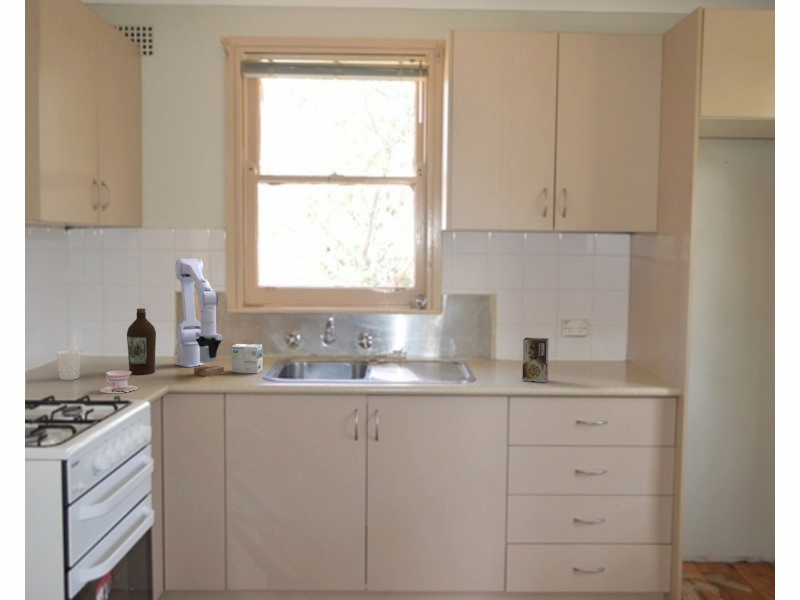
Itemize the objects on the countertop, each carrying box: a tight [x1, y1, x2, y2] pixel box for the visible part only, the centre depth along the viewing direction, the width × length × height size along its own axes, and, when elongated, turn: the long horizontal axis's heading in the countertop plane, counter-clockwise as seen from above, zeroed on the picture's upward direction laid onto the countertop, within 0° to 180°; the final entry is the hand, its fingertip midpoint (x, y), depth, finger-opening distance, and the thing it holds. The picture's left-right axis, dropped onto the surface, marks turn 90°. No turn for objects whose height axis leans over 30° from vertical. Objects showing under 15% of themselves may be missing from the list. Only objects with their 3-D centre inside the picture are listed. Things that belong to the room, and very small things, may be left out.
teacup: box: [99, 370, 138, 394], centre depth 242 cm, size 12×12×6 cm
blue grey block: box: [200, 346, 218, 363], centre depth 271 cm, size 4×4×6 cm
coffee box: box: [521, 337, 549, 384], centre depth 266 cm, size 9×6×16 cm
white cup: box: [56, 349, 81, 381], centre depth 260 cm, size 8×8×10 cm
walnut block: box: [193, 364, 225, 377], centre depth 272 cm, size 8×8×3 cm
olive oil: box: [126, 307, 157, 376], centre depth 272 cm, size 11×11×25 cm
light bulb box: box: [231, 343, 263, 374], centre depth 277 cm, size 11×7×11 cm, turn 84°
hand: (208, 356), depth 272 cm, fingers closed on blue grey block, 4 cm apart
